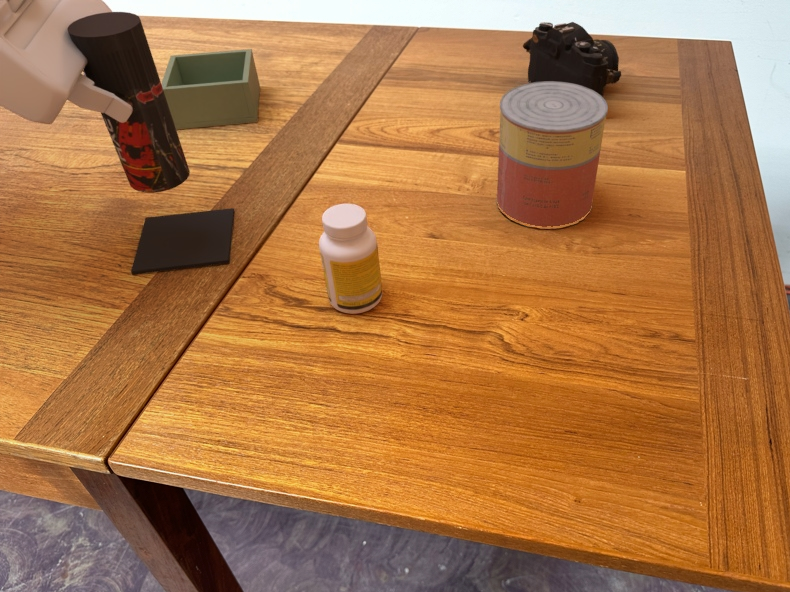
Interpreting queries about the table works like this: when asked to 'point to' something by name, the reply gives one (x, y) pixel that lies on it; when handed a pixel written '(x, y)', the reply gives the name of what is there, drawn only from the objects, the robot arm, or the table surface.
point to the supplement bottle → (350, 259)
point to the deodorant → (133, 99)
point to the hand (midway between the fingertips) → (137, 96)
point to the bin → (212, 89)
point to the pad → (184, 241)
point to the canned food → (549, 151)
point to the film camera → (571, 57)
